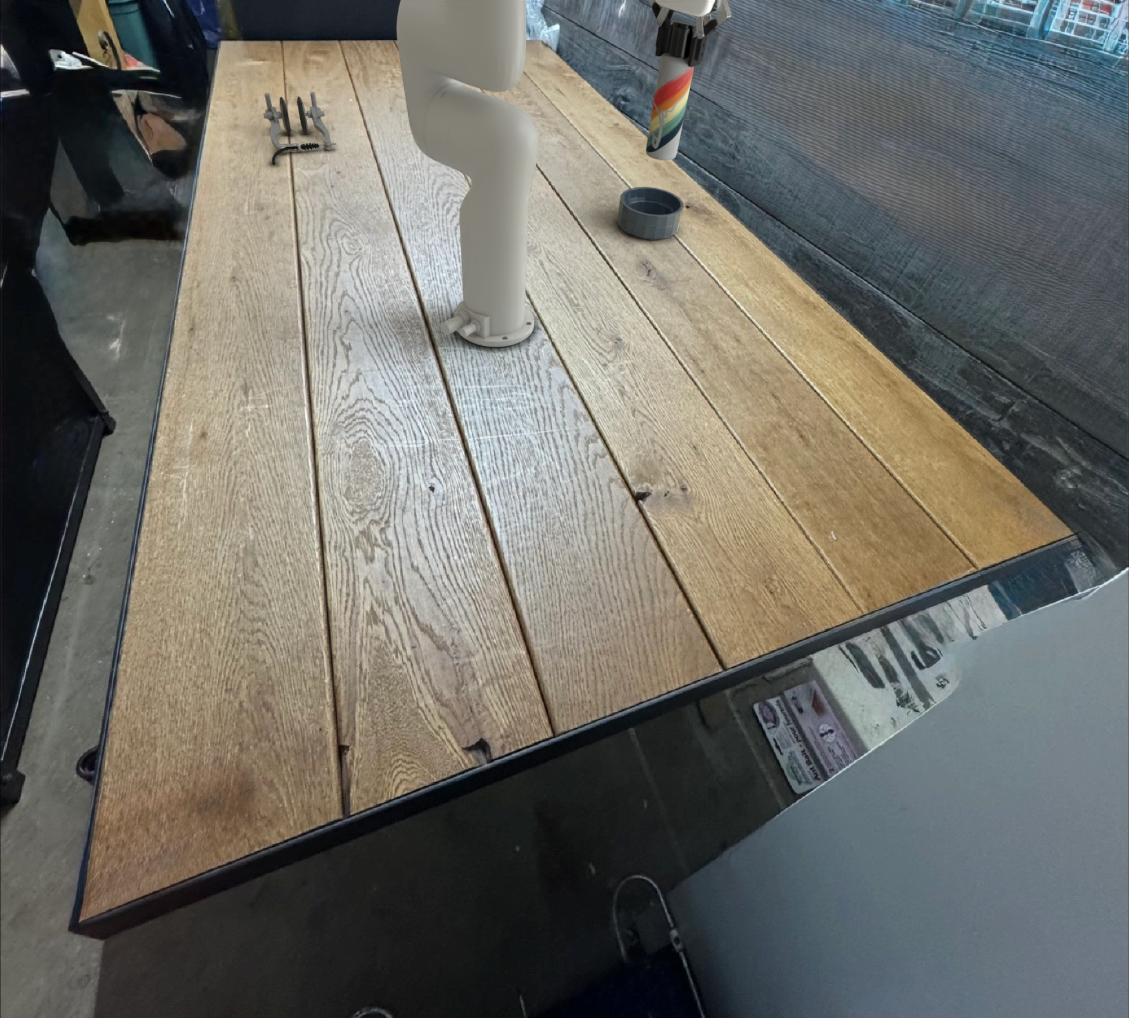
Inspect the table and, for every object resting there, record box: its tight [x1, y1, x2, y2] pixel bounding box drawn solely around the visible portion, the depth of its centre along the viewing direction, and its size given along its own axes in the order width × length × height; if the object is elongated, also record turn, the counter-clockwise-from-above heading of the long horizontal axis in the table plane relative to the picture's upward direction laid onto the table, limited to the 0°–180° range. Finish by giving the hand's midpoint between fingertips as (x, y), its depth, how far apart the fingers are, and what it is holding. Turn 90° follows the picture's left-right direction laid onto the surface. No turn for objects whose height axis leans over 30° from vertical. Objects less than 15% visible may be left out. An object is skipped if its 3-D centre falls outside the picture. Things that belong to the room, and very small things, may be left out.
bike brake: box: [262, 91, 337, 166], centre depth 139 cm, size 14×7×20 cm
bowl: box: [616, 186, 684, 241], centre depth 127 cm, size 12×12×5 cm
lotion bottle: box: [645, 20, 696, 161], centre depth 111 cm, size 6×6×20 cm
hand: (677, 58), depth 107 cm, fingers closed on lotion bottle, 5 cm apart
